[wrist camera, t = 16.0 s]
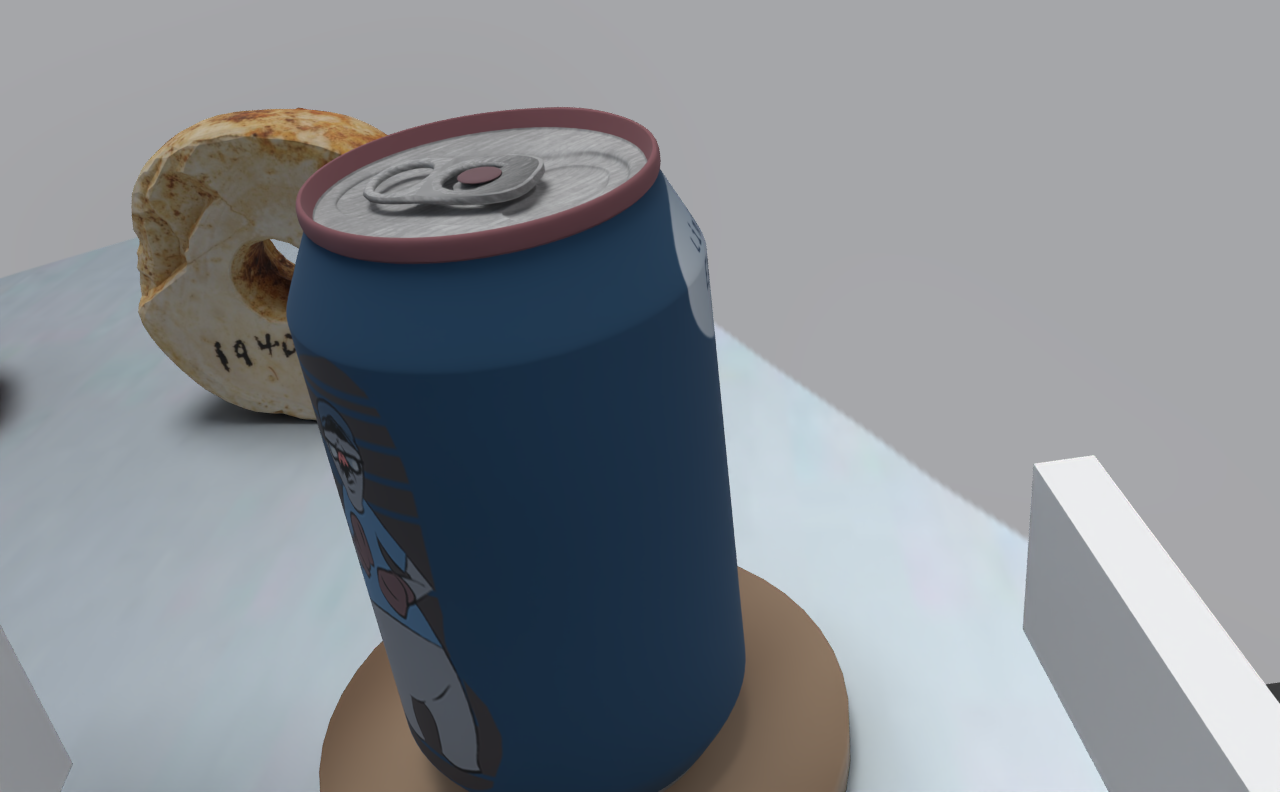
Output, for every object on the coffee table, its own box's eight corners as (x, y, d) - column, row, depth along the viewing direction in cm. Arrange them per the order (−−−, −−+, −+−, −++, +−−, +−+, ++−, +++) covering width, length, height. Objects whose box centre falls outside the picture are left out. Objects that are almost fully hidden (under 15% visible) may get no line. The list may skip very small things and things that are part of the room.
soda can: (774, 614, 26) (734, 88, 20) (714, 878, 21) (632, 258, 15) (488, 590, 28) (374, 102, 22) (361, 826, 23) (160, 258, 17)
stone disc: (501, 371, 40) (442, 80, 35) (466, 432, 37) (396, 121, 32) (226, 372, 42) (133, 99, 37) (172, 428, 39) (62, 139, 34)
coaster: (236, 952, 22) (219, 917, 21) (434, 568, 31) (426, 538, 30) (836, 1021, 19) (834, 985, 19) (859, 583, 28) (858, 551, 28)
